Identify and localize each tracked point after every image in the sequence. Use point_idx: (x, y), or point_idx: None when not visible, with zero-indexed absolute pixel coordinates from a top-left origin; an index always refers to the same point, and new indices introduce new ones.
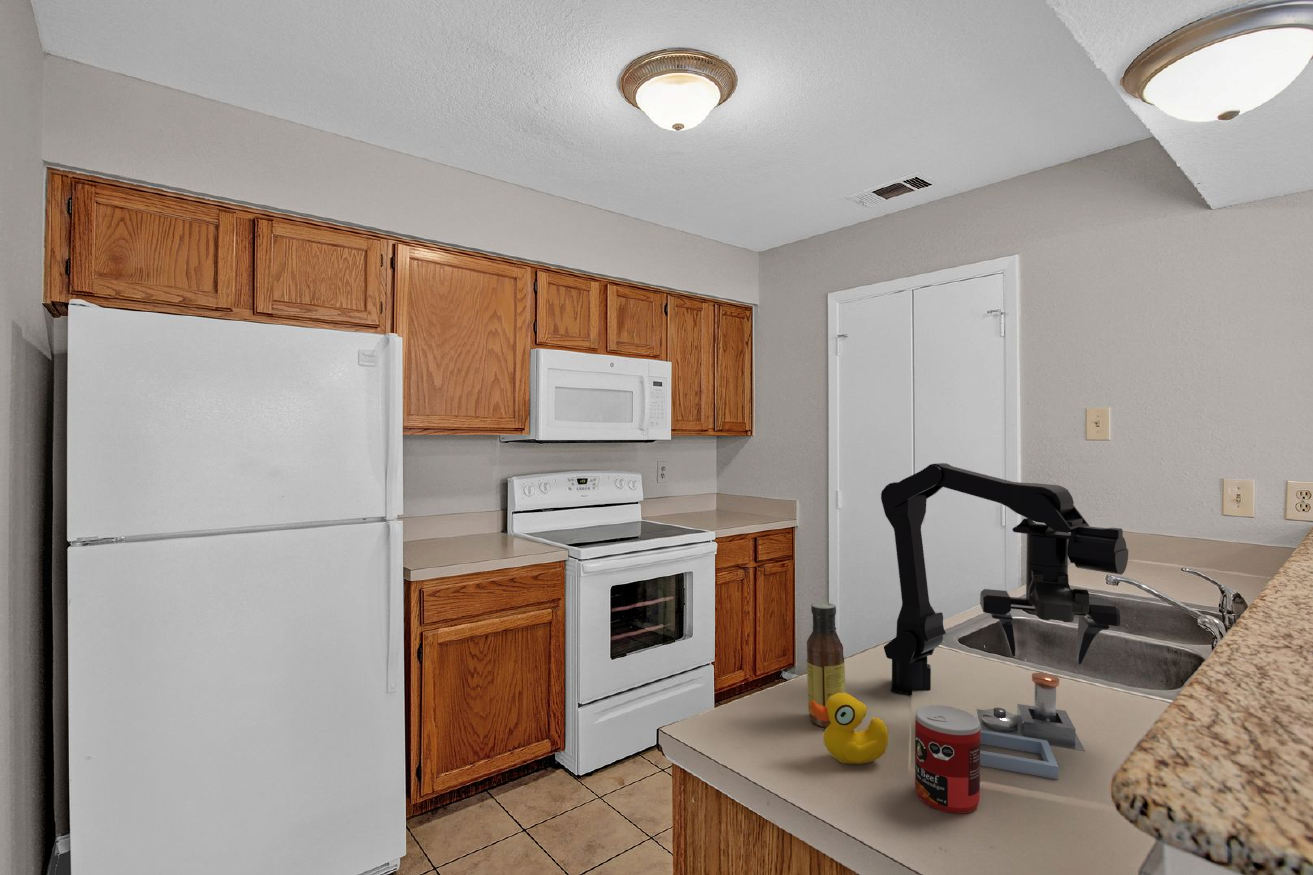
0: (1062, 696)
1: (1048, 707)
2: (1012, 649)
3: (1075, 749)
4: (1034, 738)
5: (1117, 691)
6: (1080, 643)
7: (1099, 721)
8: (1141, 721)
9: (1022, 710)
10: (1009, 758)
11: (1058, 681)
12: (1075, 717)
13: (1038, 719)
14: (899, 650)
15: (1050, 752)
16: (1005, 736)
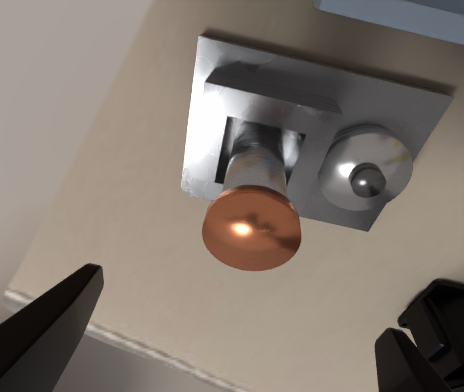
0: (155, 293)
1: (258, 152)
2: (422, 364)
3: (222, 42)
4: (356, 18)
5: None
6: (14, 382)
7: (117, 215)
8: (43, 222)
9: (304, 185)
10: None
11: (213, 207)
12: (158, 226)
13: (281, 144)
14: None
15: None
16: (458, 14)
